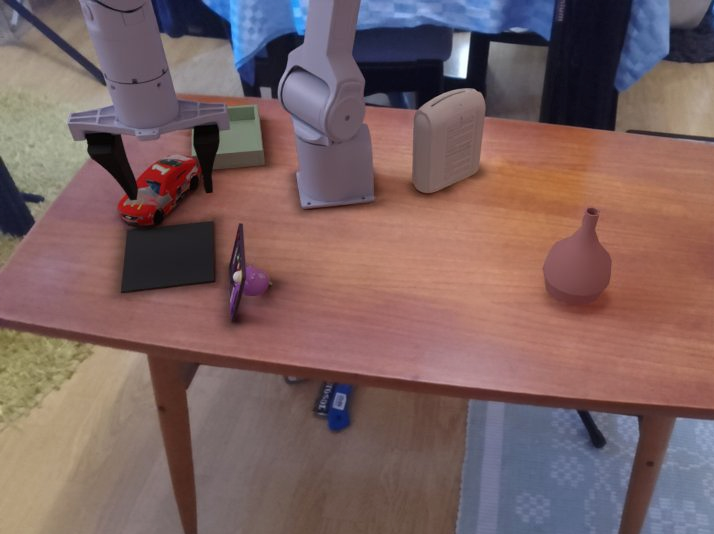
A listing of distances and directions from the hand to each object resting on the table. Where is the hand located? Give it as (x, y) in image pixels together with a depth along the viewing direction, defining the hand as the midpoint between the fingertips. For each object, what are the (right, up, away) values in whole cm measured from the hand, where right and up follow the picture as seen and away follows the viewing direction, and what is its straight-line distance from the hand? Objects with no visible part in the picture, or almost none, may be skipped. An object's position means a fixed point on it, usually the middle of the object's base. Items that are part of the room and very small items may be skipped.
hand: (172, 191), depth 73 cm
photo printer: (+29, +6, +21) cm, 37 cm away
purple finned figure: (+7, -11, +4) cm, 14 cm away
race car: (-7, +2, +14) cm, 16 cm away
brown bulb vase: (+44, -11, +7) cm, 46 cm away
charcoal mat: (-3, -6, +7) cm, 10 cm away
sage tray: (-2, +12, +24) cm, 26 cm away
